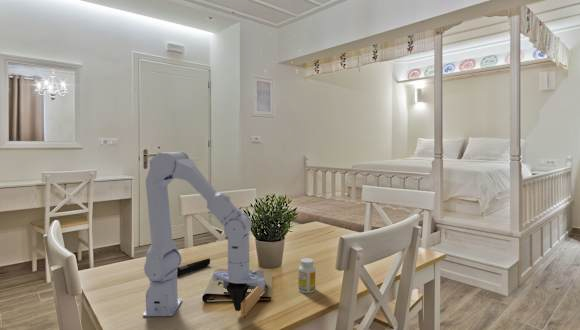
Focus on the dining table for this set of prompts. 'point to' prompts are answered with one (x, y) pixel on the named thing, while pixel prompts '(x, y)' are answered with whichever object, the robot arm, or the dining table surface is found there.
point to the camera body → (254, 272)
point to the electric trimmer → (193, 266)
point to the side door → (251, 300)
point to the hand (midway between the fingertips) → (238, 309)
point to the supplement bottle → (306, 276)
